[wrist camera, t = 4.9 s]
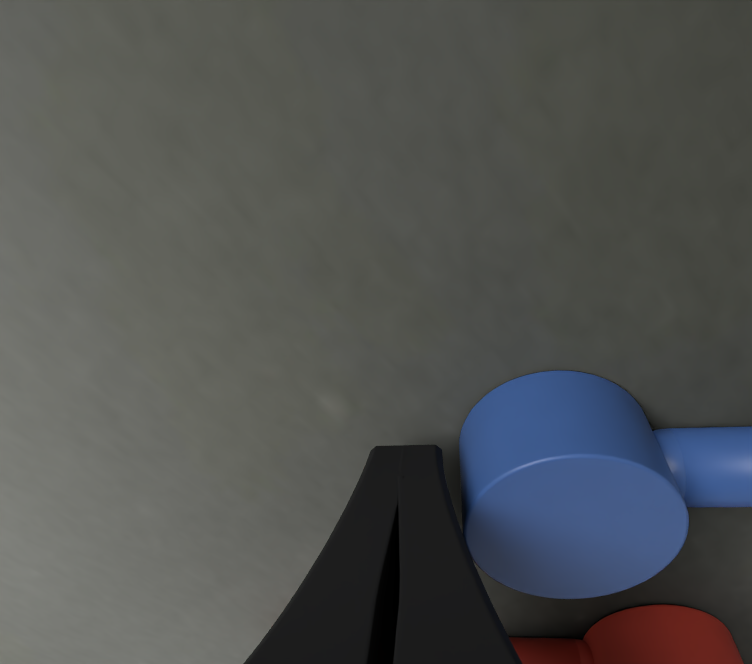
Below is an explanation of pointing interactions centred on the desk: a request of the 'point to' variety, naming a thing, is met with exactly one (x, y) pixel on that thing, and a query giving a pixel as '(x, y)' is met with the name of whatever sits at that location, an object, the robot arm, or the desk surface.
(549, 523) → the blue spoon
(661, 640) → the red spoon
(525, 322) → the desk surface
